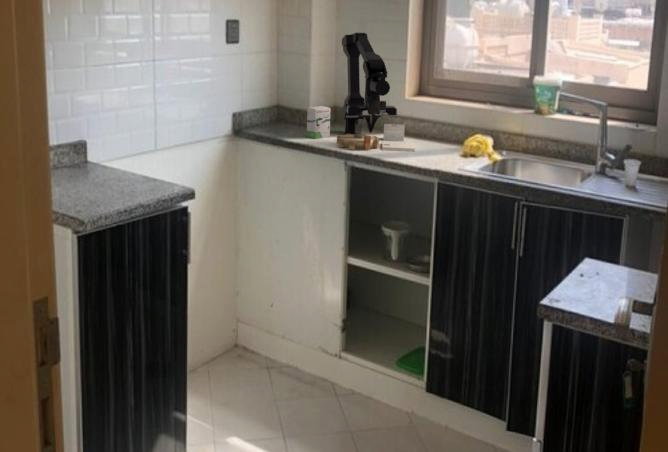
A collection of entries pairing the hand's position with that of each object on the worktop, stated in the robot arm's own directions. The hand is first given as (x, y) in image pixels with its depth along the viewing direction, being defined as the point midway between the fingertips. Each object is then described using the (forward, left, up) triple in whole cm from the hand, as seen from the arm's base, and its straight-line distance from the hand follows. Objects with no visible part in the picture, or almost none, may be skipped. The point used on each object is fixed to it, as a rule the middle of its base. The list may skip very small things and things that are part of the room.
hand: (370, 132), depth 325 cm
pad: (+4, +11, -5) cm, 12 cm away
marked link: (-11, +9, -5) cm, 15 cm away
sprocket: (+5, -5, -5) cm, 8 cm away
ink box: (-10, -21, -5) cm, 23 cm away
